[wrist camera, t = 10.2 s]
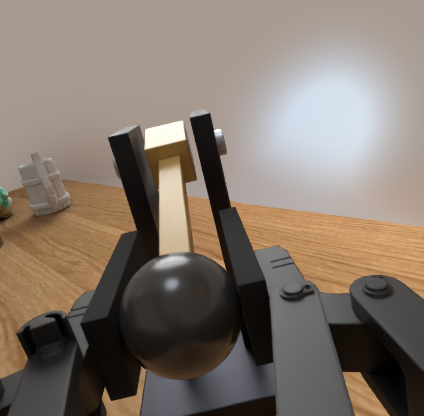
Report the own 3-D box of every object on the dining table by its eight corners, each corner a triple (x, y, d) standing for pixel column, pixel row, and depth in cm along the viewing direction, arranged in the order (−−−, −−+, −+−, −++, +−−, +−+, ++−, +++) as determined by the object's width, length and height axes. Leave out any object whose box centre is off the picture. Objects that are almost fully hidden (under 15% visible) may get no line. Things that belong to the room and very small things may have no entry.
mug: (68, 200, 79) (48, 145, 75) (79, 209, 69) (57, 147, 65) (31, 212, 75) (8, 156, 72) (37, 223, 65) (11, 159, 62)
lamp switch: (262, 389, 10) (243, 305, 8) (138, 418, 10) (89, 342, 8) (206, 163, 22) (193, 106, 20) (148, 177, 22) (129, 121, 20)
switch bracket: (320, 405, 18) (268, 105, 14) (144, 446, 18) (34, 161, 14) (268, 284, 30) (231, 99, 25) (160, 310, 30) (103, 129, 25)
